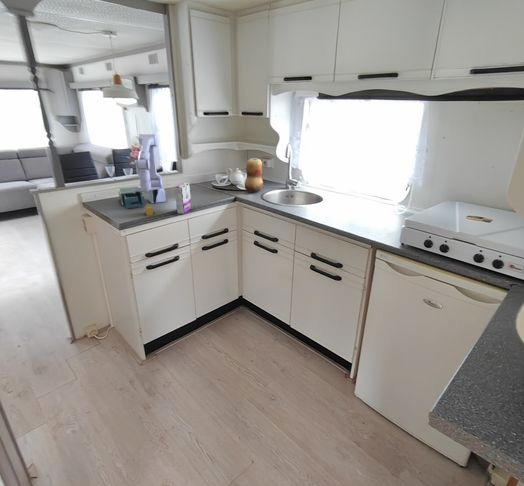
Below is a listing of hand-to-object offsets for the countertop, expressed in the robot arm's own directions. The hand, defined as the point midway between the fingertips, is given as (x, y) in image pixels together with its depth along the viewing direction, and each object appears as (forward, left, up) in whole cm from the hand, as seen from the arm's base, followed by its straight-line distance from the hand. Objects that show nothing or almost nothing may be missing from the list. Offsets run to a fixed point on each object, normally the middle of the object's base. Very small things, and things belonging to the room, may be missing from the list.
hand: (148, 203), depth 190 cm
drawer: (+5, -20, -5) cm, 21 cm away
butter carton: (0, 0, -6) cm, 6 cm away
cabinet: (+5, -32, -6) cm, 33 cm away
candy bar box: (-20, +4, -7) cm, 21 cm away
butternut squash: (-80, -18, -7) cm, 82 cm away
